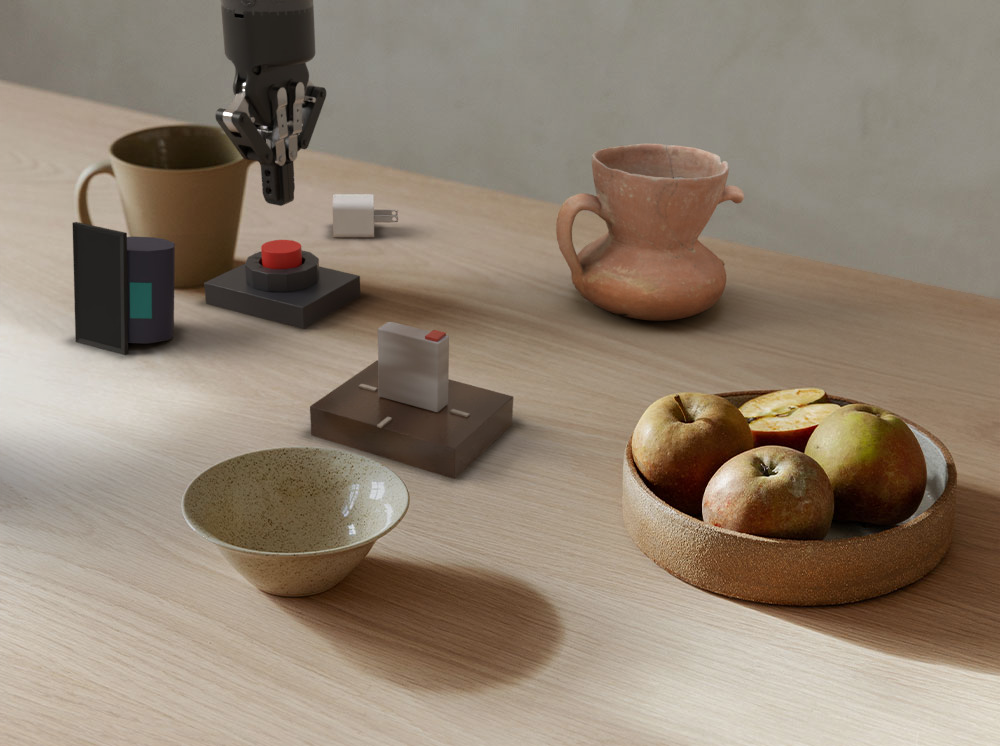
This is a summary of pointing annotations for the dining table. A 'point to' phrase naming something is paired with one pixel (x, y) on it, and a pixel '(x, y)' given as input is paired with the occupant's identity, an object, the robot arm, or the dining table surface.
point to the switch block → (283, 291)
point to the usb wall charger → (357, 216)
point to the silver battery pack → (413, 366)
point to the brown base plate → (413, 423)
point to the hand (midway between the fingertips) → (279, 202)
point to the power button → (281, 254)
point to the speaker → (122, 288)
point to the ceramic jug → (649, 231)
